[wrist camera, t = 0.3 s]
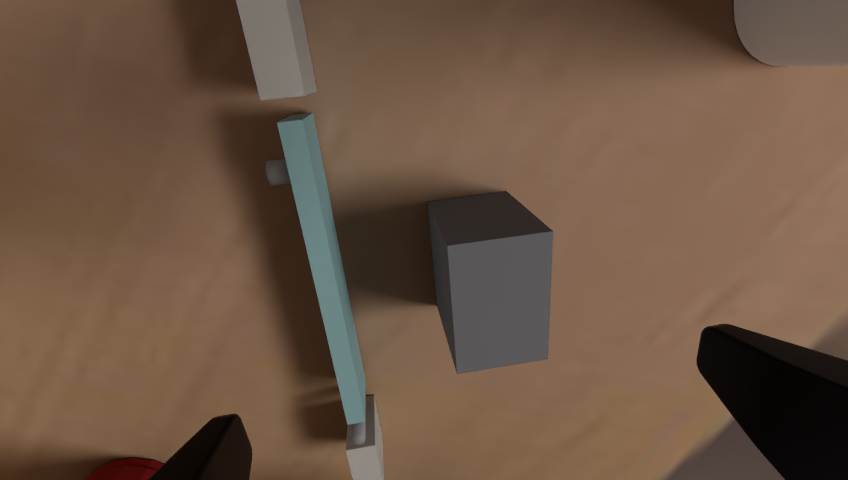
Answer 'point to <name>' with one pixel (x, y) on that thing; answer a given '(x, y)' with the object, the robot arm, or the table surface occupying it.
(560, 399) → the table surface
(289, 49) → the wall
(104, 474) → the plastic cup
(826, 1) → the cylindrical container
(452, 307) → the gray rectangular block
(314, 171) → the door
